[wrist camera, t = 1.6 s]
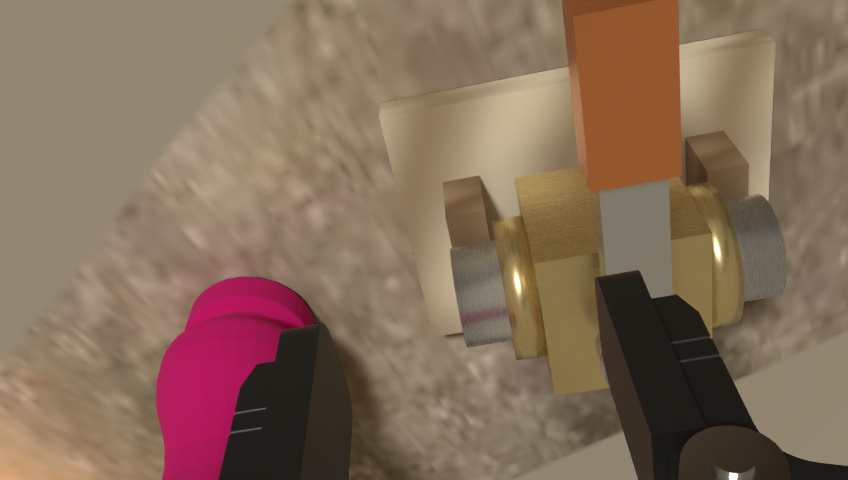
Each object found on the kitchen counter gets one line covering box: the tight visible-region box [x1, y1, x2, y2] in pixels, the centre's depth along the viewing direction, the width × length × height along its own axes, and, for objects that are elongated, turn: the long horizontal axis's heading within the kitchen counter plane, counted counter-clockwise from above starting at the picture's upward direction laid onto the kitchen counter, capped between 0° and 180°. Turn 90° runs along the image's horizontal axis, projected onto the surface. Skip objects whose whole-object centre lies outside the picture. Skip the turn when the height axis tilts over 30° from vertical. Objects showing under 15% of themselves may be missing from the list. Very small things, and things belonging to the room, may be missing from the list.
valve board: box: [379, 29, 776, 337], centre depth 35 cm, size 16×12×4 cm
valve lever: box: [562, 0, 682, 387], centre depth 25 cm, size 3×14×2 cm, turn 11°
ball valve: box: [450, 166, 787, 396], centre depth 31 cm, size 12×6×7 cm, turn 101°
